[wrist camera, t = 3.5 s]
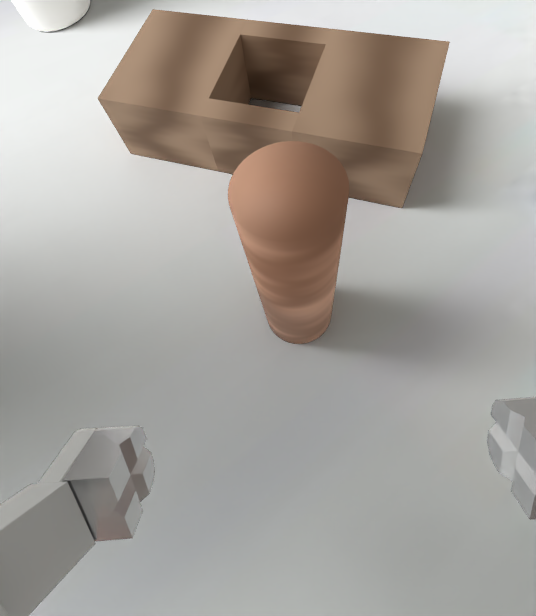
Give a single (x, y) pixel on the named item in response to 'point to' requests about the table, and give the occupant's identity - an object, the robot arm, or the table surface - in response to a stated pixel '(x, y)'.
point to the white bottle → (51, 13)
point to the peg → (292, 232)
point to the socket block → (277, 96)
